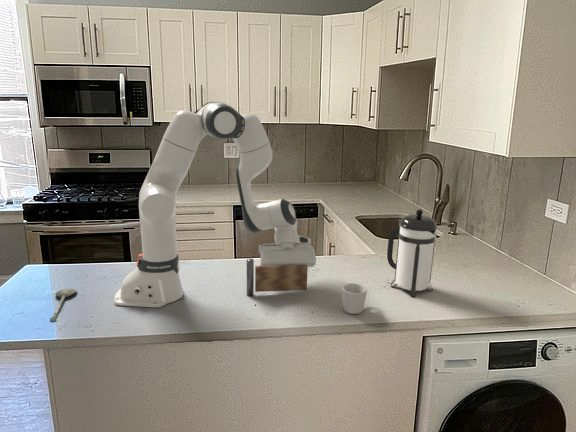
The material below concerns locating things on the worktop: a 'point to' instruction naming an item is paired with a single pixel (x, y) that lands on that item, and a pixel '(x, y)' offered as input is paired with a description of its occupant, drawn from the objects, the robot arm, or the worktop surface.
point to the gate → (281, 278)
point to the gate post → (250, 277)
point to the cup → (353, 298)
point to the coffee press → (413, 252)
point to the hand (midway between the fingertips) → (289, 278)
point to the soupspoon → (62, 294)
